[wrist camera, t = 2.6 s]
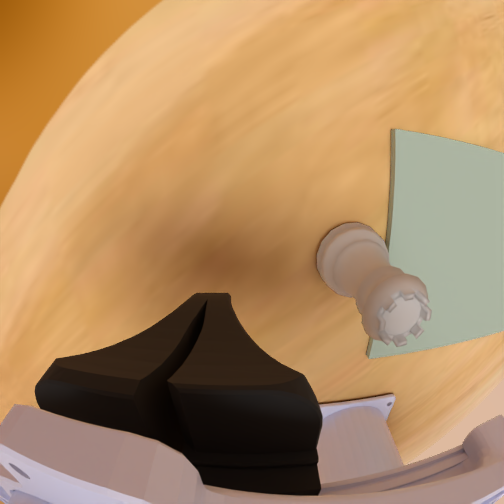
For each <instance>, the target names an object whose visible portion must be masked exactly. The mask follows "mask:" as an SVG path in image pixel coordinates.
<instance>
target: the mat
mask: <svg viewBox="0 0 504 504" xmlns="http://www.w3.org/2000/svg"><path fill="white" fill-rule="evenodd" d="M385 245H386V247H387V250H388V253H389V263H390V265H391V266H394V267H397V268H400V269H401V270H402V271H403V272H404V273H405V274H410V275H413V276H416V277H419V278H420V280H421V281H422V282H423V283H424V284H425V285H426V289H427V293H428V300H429V301H430V302H429V303H428V304H427V306H428V307H429V308H430V309H431V310H432V313H431V318H430V321H425V320H424V319H423V320H422V322H421V324H420V326H421V327H422V328H423V329H424V332H423V333H422V334H421V335H420V336H419V337H418V338H417V339H416V338H415V337H414V335H413V334H410V335H408V336H407V337H405V338H406V339H407V345H404V346H400V347H396V345H395V344H394V342H393V341H391V342H390V344H389V345H388V346H387V345H386V344H385V343H384V342H382V341H378V340H374V339H373V338H372V337H370V340H369V345H368V349H367V353H366V355H367V357H368V359H372V358H380V357H387V356H393V355H399V354H406V353H411V352H417V351H422V350H428V349H433V348H438V347H442V346H447V345H451V344H456V343H460V342H464V341H468V340H472V339H476V338H480V337H484V336H487V335H491V334H495V333H498V332H501V331H504V153H501V152H498V151H495V150H491V149H488V148H484V147H481V146H477V145H473V144H469V143H465V142H461V141H457V140H452V139H448V138H443V137H438V136H433V135H428V134H423V133H417V132H412V131H405V130H399V129H391V179H390V198H389V213H388V225H387V235H386V244H385Z"/></svg>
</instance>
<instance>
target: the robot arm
mask: <svg viewBox="0 0 504 504" xmlns="http://www.w3.org/2000/svg"><path fill="white" fill-rule="evenodd" d="M35 396H36V400H37V403H38V405H39V407H40V409H39V408H36V407H34V406H27V405H18V404H15V405H14V406H13V407H12V409H11V410H10V412H9V413H8V414H7V416H6V417H5V419H4V420H3V422H2V423H1V424H0V500H1V501H2V502H3V503H5V504H494V503H495V502H496V501H497V500H499V499H500V498H501V497H502V496H503V495H504V417H503V416H502V415H499V416H497V417H495V418H493V419H491V420H489V421H487V422H485V423H482V424H480V425H479V426H477V427H476V428H474V429H473V430H472V431H471V432H470V433H469V434H468V435H467V437H466V438H465V440H464V442H463V444H462V445H460V446H457V447H455V448H453V449H450V450H448V451H445V452H443V453H440V454H438V455H435V456H432V457H429V458H427V459H424V460H421V461H418V462H415V463H412V464H408V465H405V466H404V465H403V462H402V459H401V457H400V454H399V452H398V450H397V447H396V445H395V442H394V440H393V437H392V435H391V433H390V430H389V428H388V426H387V423H386V420H387V418H388V416H389V413H390V411H391V409H392V406H393V404H394V402H395V399H396V397H395V395H394V394H389V395H384V396H378V397H373V398H367V399H360V400H354V401H346V402H339V403H330V404H321V405H319V403H318V401H317V398H316V396H315V394H314V392H313V390H312V388H311V386H310V384H309V383H308V381H307V379H306V377H305V376H304V375H303V374H301V373H299V372H297V371H295V370H293V369H291V368H289V367H287V366H285V365H283V364H281V363H280V362H278V361H276V360H275V359H273V358H272V357H270V356H269V355H268V354H267V353H266V352H264V351H263V350H262V349H261V348H260V347H259V346H258V345H257V344H256V343H255V342H254V341H253V340H252V339H251V338H250V336H249V335H248V334H247V333H246V331H245V330H244V328H243V327H242V325H241V324H240V322H239V320H238V318H237V316H236V314H235V312H234V310H233V308H232V305H231V296H230V295H229V294H228V293H196V294H194V295H193V296H192V297H190V298H189V299H188V300H187V301H185V302H184V303H183V304H182V305H181V306H179V307H178V308H177V309H176V310H174V311H173V312H172V313H171V314H169V315H168V316H166V317H165V318H163V319H162V320H161V321H159V322H158V323H156V324H155V325H153V326H152V327H150V328H148V329H147V330H145V331H143V332H141V333H139V334H137V335H135V336H133V337H131V338H129V339H127V340H124V341H122V342H119V343H117V344H115V345H112V346H109V347H106V348H103V349H100V350H96V351H93V352H89V353H85V354H80V355H75V356H69V357H63V358H56V359H55V361H54V362H53V363H52V365H51V366H50V367H49V369H48V370H47V371H46V372H45V374H44V375H43V376H42V378H41V379H40V380H39V382H38V383H37V384H36V387H35Z"/></svg>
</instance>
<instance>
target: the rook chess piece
mask: <svg viewBox="0 0 504 504" xmlns="http://www.w3.org/2000/svg"><path fill="white" fill-rule="evenodd" d="M317 269H318V271H319V274H320V276H321V278H322V280H323V281H324V282H325V283H326V285H327V286H328V287H329V288H331V289H332V290H333V291H334V292H336V293H337V294H339V295H343V296H347V297H353V298H355V299H356V305H357V308H358V310H359V313H360V314H362V325H363V327H364V330H365V332H366V334H368V335H369V336H370V337H372V338H373V339H374V340H378V341H382V342H384V343H385V344H386V345H387V346H388V345H389V344H390V342H391V341H393V342H394V344H395V345H396V347H400V346H404V345H407V339H406V338H405V337H407V336H408V335H410V334H413V335H414V337H415V338H416V339H417V338H418V337H419V336H420V335H421V334H422V333H423V332H424V329H423V328H422V327H421V326H420V324H421V322H422V320H423V319H424V320H425V321H430V318H431V313H432V310H431V309H430V308H429V307H428V306H427V304H428V303H429V302H430V301H429V300H428V293H427V289H426V285H425V284H424V283H423V282H422V281H421V280H420V278H419V277H416V276H413V275H410V274H405V273H404V272H403V271H402V270H401V269H400V268H397V267H394V266H391V265H390V263H389V253H388V250H387V247H386V245H385V242H384V240H383V239H382V238H381V237H380V236H379V235H378V234H377V233H376V232H375V231H374V230H373V229H372V228H371V227H369V226H367V225H364V224H361V223H358V222H357V223H345V224H342V225H341V226H339V227H337V228H335V229H333V230H331V231H330V232H329V234H328V235H327V236H326V237H325V238H324V239H323V240H322V242H321V245H320V247H319V250H318V253H317Z"/></svg>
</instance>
